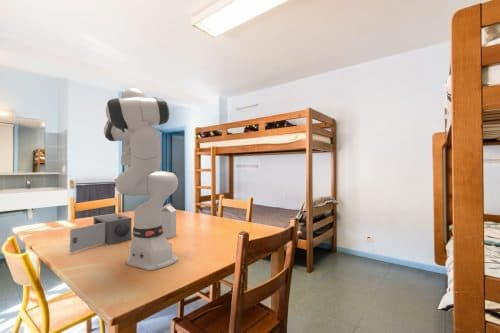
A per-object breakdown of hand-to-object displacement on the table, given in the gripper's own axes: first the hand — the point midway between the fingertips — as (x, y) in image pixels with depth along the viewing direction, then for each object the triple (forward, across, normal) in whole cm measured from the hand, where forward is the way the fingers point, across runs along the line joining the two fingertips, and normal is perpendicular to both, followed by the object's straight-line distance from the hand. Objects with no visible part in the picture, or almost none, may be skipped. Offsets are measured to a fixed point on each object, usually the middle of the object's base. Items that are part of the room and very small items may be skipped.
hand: (131, 173), depth 131 cm
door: (+36, 0, -20) cm, 41 cm away
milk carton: (+37, +11, +16) cm, 42 cm away
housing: (+37, -9, -6) cm, 39 cm away
